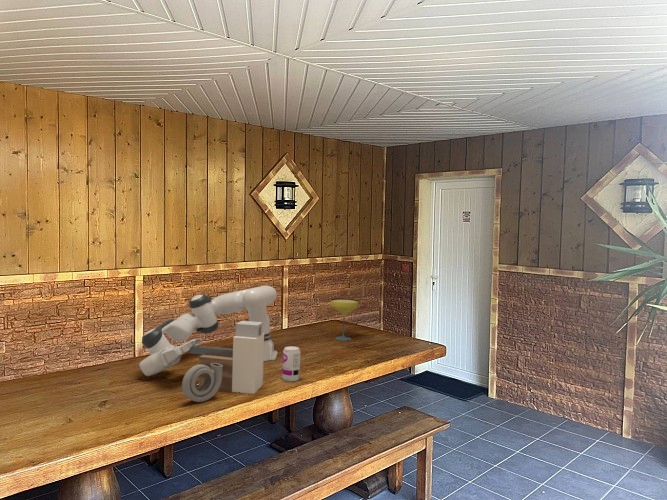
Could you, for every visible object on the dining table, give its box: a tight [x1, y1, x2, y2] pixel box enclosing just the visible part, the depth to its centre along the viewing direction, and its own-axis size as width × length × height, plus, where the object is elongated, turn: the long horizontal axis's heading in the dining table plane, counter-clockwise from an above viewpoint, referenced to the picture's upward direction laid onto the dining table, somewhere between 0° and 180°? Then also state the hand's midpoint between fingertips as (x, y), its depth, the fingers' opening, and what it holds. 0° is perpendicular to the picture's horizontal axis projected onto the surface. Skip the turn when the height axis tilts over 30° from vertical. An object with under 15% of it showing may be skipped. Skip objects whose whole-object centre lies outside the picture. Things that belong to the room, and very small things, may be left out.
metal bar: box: [189, 345, 233, 357], centre depth 227 cm, size 3×20×3 cm, turn 80°
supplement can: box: [281, 345, 301, 383], centre depth 239 cm, size 8×8×15 cm
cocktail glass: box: [329, 297, 359, 342], centre depth 326 cm, size 18×18×25 cm
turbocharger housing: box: [181, 363, 223, 403], centre depth 208 cm, size 17×6×15 cm, turn 137°
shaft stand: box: [232, 320, 264, 395], centre depth 224 cm, size 12×10×29 cm
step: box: [198, 354, 233, 393], centre depth 227 cm, size 12×16×14 cm
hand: (196, 342), depth 228 cm, fingers open, 8 cm apart
